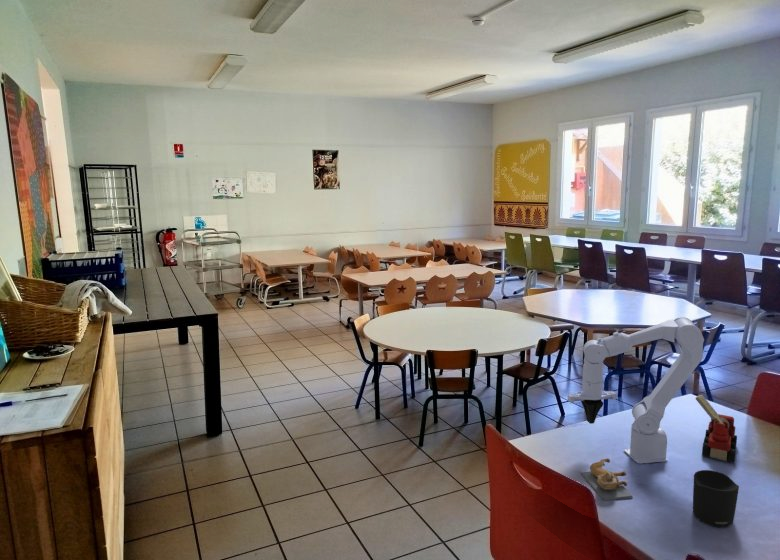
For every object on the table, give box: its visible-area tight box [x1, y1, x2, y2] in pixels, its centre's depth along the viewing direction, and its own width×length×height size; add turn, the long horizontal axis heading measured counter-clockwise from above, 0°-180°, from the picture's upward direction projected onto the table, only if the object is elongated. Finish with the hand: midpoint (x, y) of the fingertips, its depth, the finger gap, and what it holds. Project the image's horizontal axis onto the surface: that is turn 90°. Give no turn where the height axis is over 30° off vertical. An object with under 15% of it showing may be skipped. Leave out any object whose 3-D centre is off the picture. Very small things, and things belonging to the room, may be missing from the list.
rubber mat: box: [580, 470, 633, 501], centre depth 147 cm, size 8×13×1 cm, turn 7°
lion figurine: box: [589, 458, 628, 490], centre depth 148 cm, size 15×5×9 cm
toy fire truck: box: [695, 394, 738, 464], centre depth 163 cm, size 11×16×18 cm
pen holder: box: [692, 469, 740, 528], centre depth 132 cm, size 9×9×10 cm
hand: (590, 422), depth 165 cm, fingers closed
